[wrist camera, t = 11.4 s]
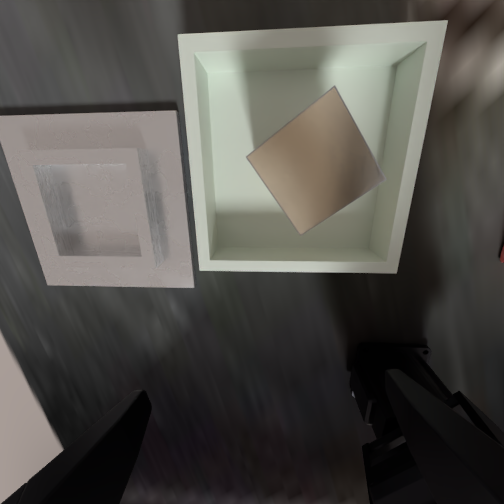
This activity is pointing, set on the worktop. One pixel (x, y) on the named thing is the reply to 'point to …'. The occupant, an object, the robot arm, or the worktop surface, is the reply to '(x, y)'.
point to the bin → (284, 110)
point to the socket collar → (104, 196)
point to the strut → (317, 163)
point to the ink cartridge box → (502, 255)
